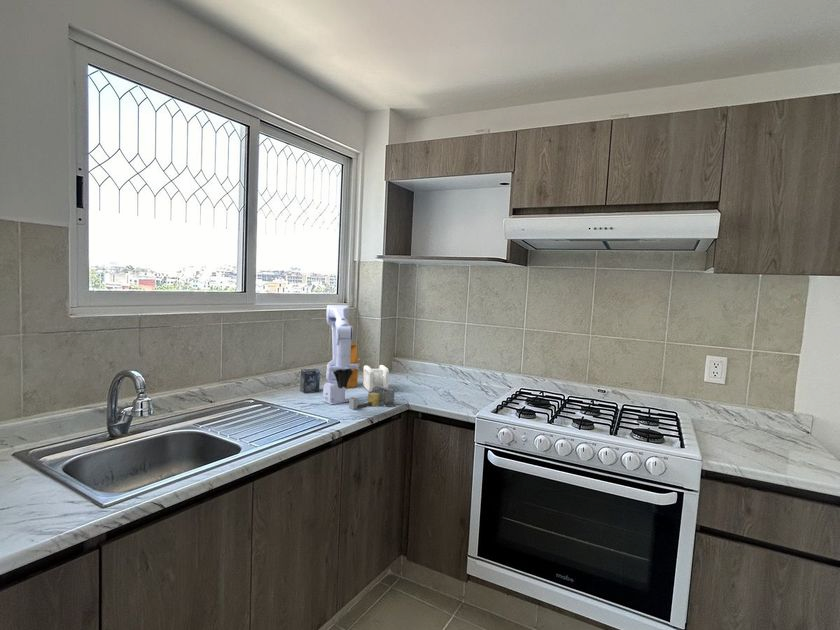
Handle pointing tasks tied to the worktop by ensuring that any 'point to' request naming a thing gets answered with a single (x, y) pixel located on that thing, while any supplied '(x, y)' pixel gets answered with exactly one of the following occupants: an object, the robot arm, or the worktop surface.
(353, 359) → the coffee package
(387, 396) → the housing
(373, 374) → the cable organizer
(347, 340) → the robot arm
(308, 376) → the box
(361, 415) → the worktop surface
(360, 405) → the plug
